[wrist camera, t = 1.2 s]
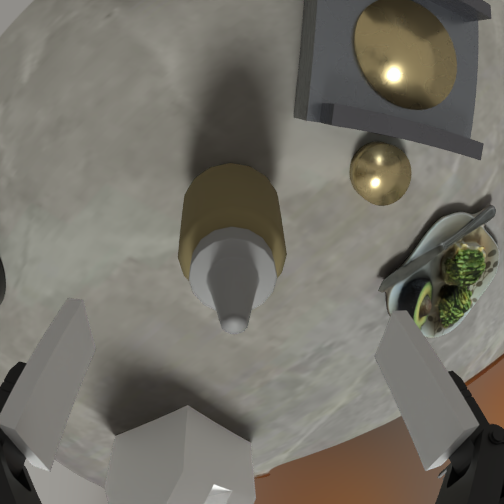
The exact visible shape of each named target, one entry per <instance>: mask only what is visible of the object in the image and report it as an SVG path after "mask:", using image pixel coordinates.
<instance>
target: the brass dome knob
mask: <svg viewBox="0 0 504 504" xmlns="http://www.w3.org/2000/svg"><path fill="white" fill-rule="evenodd" d="M350 180H351V183H352V185H353V187H354V189H355V190H356V192H357V193H358V194H359V195H361V196H362V197H363V198H364V199H366V200H367V201H368V202H370V203H372V204H375V205H379V206H384V205H390V204H392V203H394V202H396V201H397V200H399V199H400V198H401V197H402V196H403V195H404V194H405V192H406V191H407V189H408V187H409V184H410V180H411V166H410V163H409V160H408V158H407V156H406V155H405V154H404V152H403V151H402V150H400V149H399V148H397V147H395V146H393V145H390V144H387V143H384V142H371V143H368V144H366V145H364V146H363V147H361V148H360V149H359V150H358V151H357V152H356V154H355V155H354V157H353V159H352V161H351V165H350Z"/></svg>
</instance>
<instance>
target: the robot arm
mask: <svg viewBox="0 0 504 504" xmlns="http://www.w3.org/2000/svg"><path fill="white" fill-rule="evenodd" d="M4 295H5V276H4V271H3V267H2V264H1V261H0V304H1V303H2V301H3V299H4ZM95 350H96V347H95V343H94V340H93V336H92V332H91V329H90V325H89V321H88V317H87V313H86V309H85V305H84V300H82V299H73V298H68V299H67V300H66V302H65V303H64V305H63V306H62V308H61V309H60V311H59V312H58V314H57V315H56V317H55V318H54V320H53V321H52V323H51V324H50V326H49V328H48V329H47V331H46V332H45V334H44V336H43V337H42V339H41V340H40V342H39V344H38V345H37V347H36V349H35V350H34V352H33V354H32V356H31V357H30V359H29V361H28V362H27V363H23V362H18V363H17V364H16V365H15V366H14V367H13V368H11V369H10V371H9V372H8V374H7V376H6V378H5V379H4V382H3V383H2V385H1V386H0V504H42V503H41V501H40V499H39V497H38V495H37V492H36V490H35V488H34V486H33V483H32V481H31V479H30V476H29V474H28V471H27V469H26V467H25V466H24V462H25V459H27V460H28V461H29V462H30V463H31V464H32V465H33V466H36V467H38V468H41V469H44V470H47V471H51V468H52V465H53V462H54V459H55V455H56V452H57V449H58V446H59V443H60V440H61V437H62V434H63V431H64V429H65V426H66V423H67V420H68V417H69V415H70V412H71V409H72V407H73V404H74V401H75V399H76V396H77V393H78V391H79V388H80V386H81V383H82V381H83V378H84V376H85V373H86V371H87V369H88V366H89V364H90V362H91V359H92V357H93V354H94V352H95ZM375 359H376V361H377V363H378V365H379V367H380V369H381V371H382V373H383V375H384V377H385V380H386V382H387V384H388V386H389V388H390V390H391V392H392V395H393V397H394V399H395V401H396V403H397V406H398V408H399V410H400V412H401V415H402V417H403V419H404V421H405V424H406V426H407V428H408V431H409V433H410V435H411V437H412V440H413V442H414V445H415V447H416V449H417V452H418V454H419V457H420V459H421V462H422V464H423V467H424V469H425V471H427V470H430V469H433V468H436V467H438V466H441V465H442V464H443V463H444V462H445V461H446V460H447V459H448V458H449V459H450V461H451V463H450V464H449V465H448V466H447V467H446V468H445V469H444V470H443V471H442V472H441V473H440V474H439V476H438V478H440V477H442V476H443V475H444V474H445V473H446V474H445V477H444V478H443V484H442V486H441V489H440V492H439V495H438V498H437V501H436V503H435V504H504V429H503V428H502V427H500V426H498V425H495V424H489V423H488V421H487V420H486V418H485V416H484V414H483V413H482V411H481V409H480V408H479V406H478V404H477V403H476V401H475V399H474V398H473V397H471V396H472V395H471V393H470V391H469V390H467V387H466V385H465V383H464V382H463V380H462V379H461V378H460V377H459V376H458V375H457V374H456V373H454V372H453V371H449V372H448V371H447V370H446V368H445V367H444V365H443V363H442V362H441V360H440V359H439V357H438V356H437V354H436V353H435V351H434V350H433V348H432V347H431V345H430V344H429V342H428V341H427V339H426V338H425V336H424V335H423V333H422V332H421V330H420V329H419V327H418V326H417V325H416V323H415V322H414V320H413V319H412V317H411V316H410V315H409V313H408V312H407V310H405V311H392V314H391V317H390V319H389V322H388V324H387V327H386V330H385V332H384V335H383V337H382V340H381V342H380V344H379V347H378V349H377V352H376V354H375Z"/></svg>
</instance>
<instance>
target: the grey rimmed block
mask: <svg viewBox="0 0 504 504" xmlns="http://www.w3.org/2000/svg"><path fill="white" fill-rule="evenodd" d="M485 19H491V7H490V5H489V4H488V3H486V2H485V1H483V0H304V11H303V24H302V35H301V47H300V58H299V69H298V79H297V90H296V100H295V110H294V118H298V119H302V120H306V121H314V122H320V123H324V124H329V125H333V126H339V127H345V128H351V129H357V130H362V131H368V132H373V133H378V134H383V135H387V136H392V137H397V138H401V139H405V140H410V141H414V142H418V143H422V144H426V145H430V146H433V147H437V148H441V149H444V150H448V151H452V152H455V153H458V154H462V155H465V156H468V157H471V158H475V159H478V160H481V155H482V150H483V143H480V142H478V141H475V140H472V139H470V137H471V130H472V123H473V115H474V106H475V97H476V85H477V69H478V21H479V20H485Z"/></svg>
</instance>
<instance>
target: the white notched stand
mask: <svg viewBox="0 0 504 504" xmlns="http://www.w3.org/2000/svg"><path fill="white" fill-rule="evenodd" d="M105 492H106V496H107V500H108V504H254V502H255V499H256V496H255V484H254V473H253V461H252V449H251V442H249V441H247V440H245V439H243V438H242V437H240V436H238V435H236V434H234V433H233V432H231V431H229V430H227V429H226V428H224V427H222V426H221V425H219V424H217V423H216V422H214V421H212V420H211V419H209V418H207V417H206V416H204V415H203V414H201V413H199V412H198V411H196V410H195V409H193V408H192V407H190V406H189V405H187V406H185V407H182V408H180V409H178V410H176V411H174V412H171V413H169V414H167V415H165V416H162V417H160V418H158V419H155V420H153V421H151V422H148V423H146V424H144V425H141V426H139V427H136V428H134V429H131V430H129V431H126V432H124V433H121V434H119V435H116V436H115V439H114V444H113V448H112V453H111V458H110V462H109V467H108V472H107V477H106V483H105Z"/></svg>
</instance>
